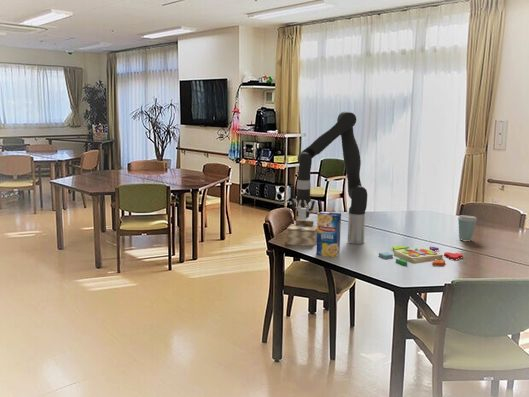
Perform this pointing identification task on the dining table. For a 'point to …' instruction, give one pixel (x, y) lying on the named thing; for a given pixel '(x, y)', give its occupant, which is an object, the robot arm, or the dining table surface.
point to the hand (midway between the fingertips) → (302, 217)
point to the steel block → (302, 213)
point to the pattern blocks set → (418, 255)
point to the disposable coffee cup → (466, 226)
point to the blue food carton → (328, 234)
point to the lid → (303, 226)
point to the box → (301, 237)
